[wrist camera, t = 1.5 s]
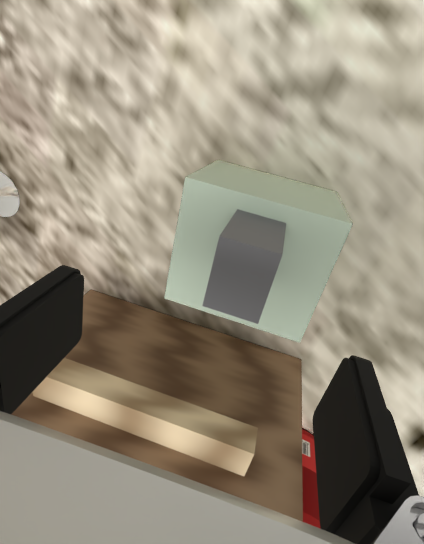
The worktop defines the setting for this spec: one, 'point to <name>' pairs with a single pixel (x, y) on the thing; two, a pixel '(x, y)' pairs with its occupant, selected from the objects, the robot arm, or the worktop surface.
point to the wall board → (180, 401)
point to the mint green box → (255, 247)
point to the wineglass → (8, 197)
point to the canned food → (309, 481)
